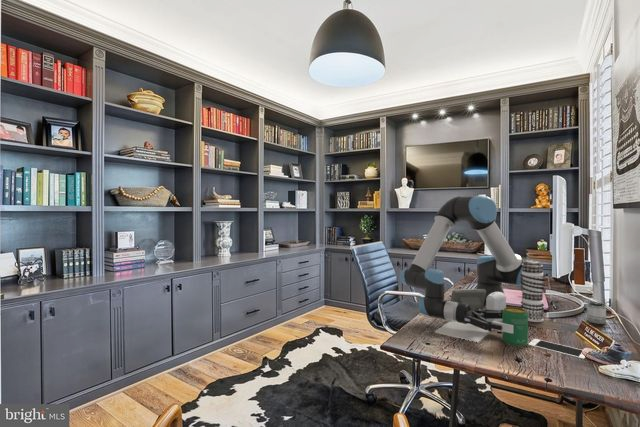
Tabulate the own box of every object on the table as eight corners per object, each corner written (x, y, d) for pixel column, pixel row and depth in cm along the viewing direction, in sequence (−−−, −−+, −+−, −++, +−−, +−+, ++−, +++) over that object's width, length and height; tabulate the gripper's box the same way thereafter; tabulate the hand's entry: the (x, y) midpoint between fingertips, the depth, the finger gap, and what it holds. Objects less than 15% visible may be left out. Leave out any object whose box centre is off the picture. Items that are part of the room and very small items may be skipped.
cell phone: (534, 340, 128) (534, 338, 128) (588, 353, 116) (588, 351, 116) (527, 345, 122) (527, 344, 122) (583, 360, 111) (583, 358, 111)
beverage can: (522, 339, 127) (522, 306, 127) (531, 347, 120) (531, 313, 119) (499, 337, 129) (499, 305, 129) (506, 346, 121) (506, 312, 121)
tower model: (545, 323, 144) (546, 263, 143) (520, 320, 148) (520, 262, 148) (544, 317, 152) (544, 260, 151) (519, 314, 156) (519, 259, 156)
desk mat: (456, 318, 151) (456, 317, 151) (495, 326, 141) (495, 325, 141) (434, 332, 135) (434, 331, 135) (478, 343, 124) (478, 341, 124)
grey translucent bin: (483, 309, 165) (483, 287, 165) (489, 315, 156) (489, 291, 156) (447, 308, 167) (447, 286, 167) (451, 313, 158) (451, 290, 158)
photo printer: (497, 317, 152) (497, 289, 152) (507, 320, 149) (507, 291, 149) (484, 321, 147) (484, 292, 147) (494, 324, 143) (494, 295, 143)
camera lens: (608, 322, 145) (609, 304, 144) (601, 325, 142) (601, 306, 141) (591, 318, 150) (591, 300, 150) (583, 320, 147) (583, 302, 147)
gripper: (469, 314, 147) (526, 325, 132) (445, 330, 128) (508, 345, 114) (469, 296, 147) (526, 306, 132) (445, 310, 128) (508, 322, 114)
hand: (518, 324), depth 123 cm, fingers open, 13 cm apart
